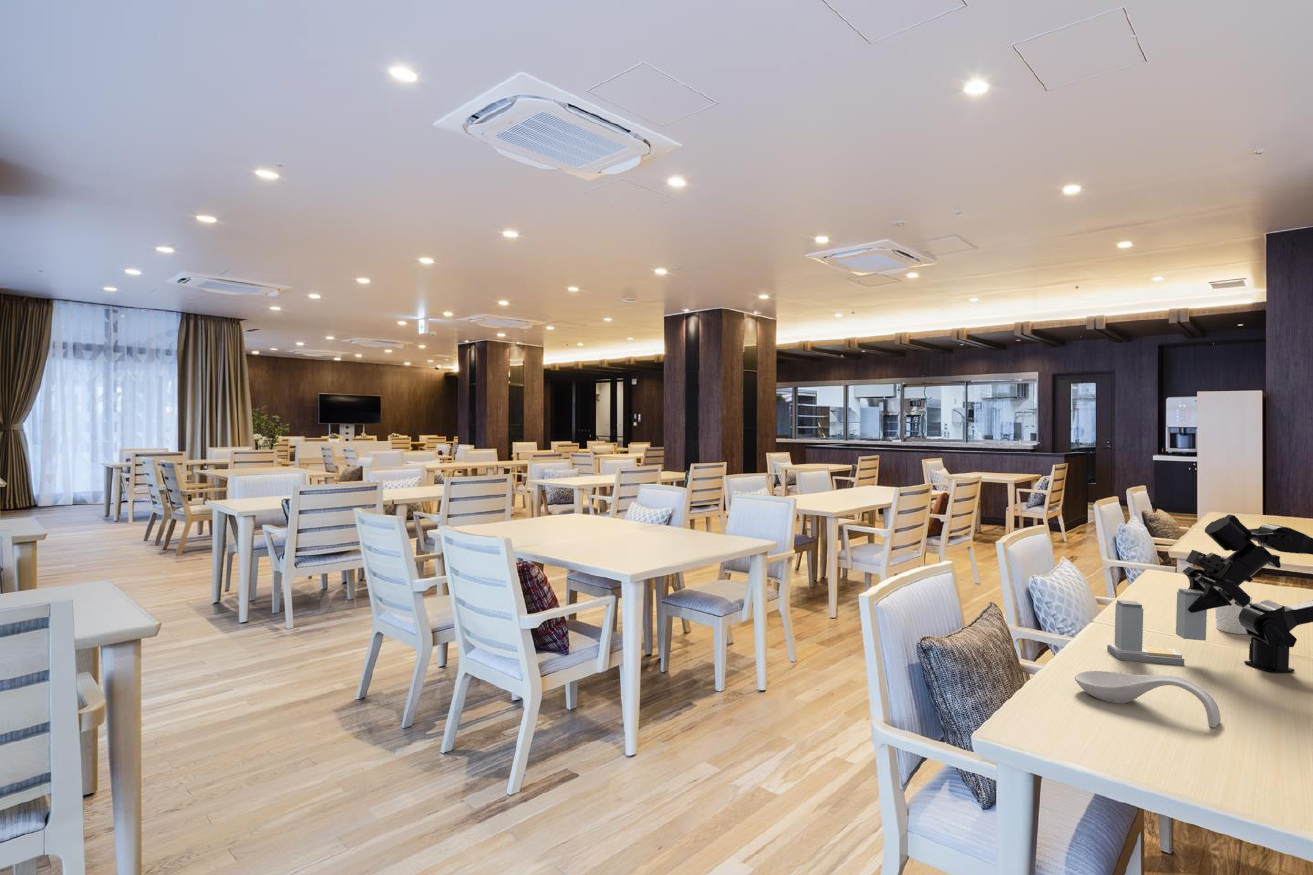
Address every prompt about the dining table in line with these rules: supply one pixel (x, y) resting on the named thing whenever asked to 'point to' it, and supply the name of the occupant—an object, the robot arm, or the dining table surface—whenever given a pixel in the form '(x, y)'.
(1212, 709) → the grey spoon
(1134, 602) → the block
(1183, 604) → the block
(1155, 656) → the rail board
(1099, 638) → the dining table surface
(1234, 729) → the dining table surface
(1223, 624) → the white cup
